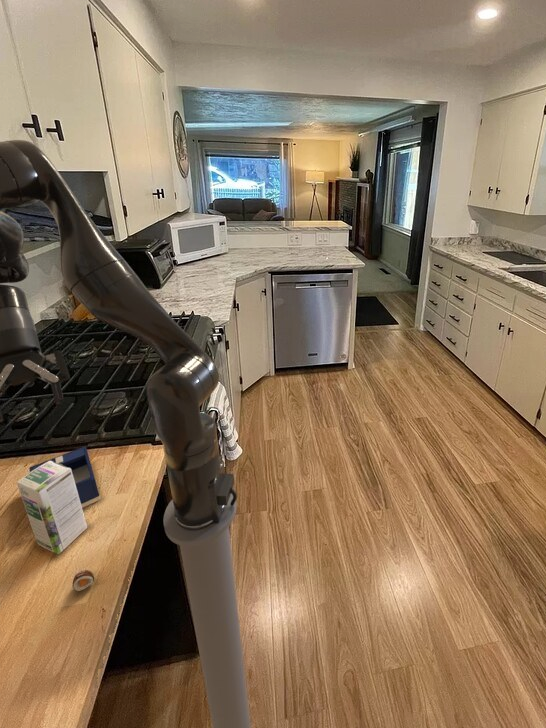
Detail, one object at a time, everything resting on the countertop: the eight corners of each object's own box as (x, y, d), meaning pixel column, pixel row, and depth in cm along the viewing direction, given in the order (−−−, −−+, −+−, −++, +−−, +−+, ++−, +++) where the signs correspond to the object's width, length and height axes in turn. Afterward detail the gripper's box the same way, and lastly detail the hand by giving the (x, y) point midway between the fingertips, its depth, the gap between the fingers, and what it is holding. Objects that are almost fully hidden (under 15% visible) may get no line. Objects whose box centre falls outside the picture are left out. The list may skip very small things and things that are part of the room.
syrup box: (36, 545, 64) (12, 483, 59) (68, 517, 69) (49, 458, 64) (58, 555, 62) (36, 493, 57) (89, 526, 68) (72, 466, 63)
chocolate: (97, 573, 60) (92, 557, 58) (95, 586, 58) (90, 569, 56) (76, 581, 58) (70, 564, 57) (73, 595, 57) (67, 578, 55)
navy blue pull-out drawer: (101, 501, 73) (93, 474, 70) (39, 530, 67) (29, 501, 64) (91, 464, 82) (84, 439, 79) (36, 487, 76) (27, 460, 73)
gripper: (-44, 337, 64) (-28, 422, 59) (54, 318, 72) (74, 392, 68) (-32, 352, 69) (-16, 431, 65) (58, 333, 78) (76, 402, 74)
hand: (30, 411), depth 66 cm, fingers open, 8 cm apart
